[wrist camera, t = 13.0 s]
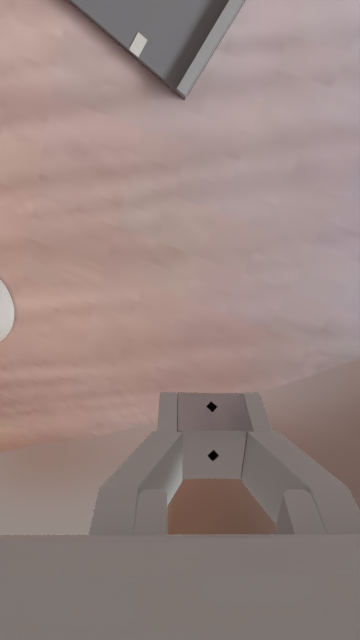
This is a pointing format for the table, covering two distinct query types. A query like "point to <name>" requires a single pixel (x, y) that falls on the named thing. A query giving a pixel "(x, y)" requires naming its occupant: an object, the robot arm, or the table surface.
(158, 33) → the track board
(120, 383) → the table surface
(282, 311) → the table surface
